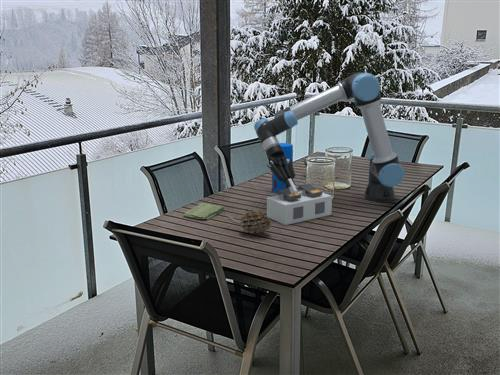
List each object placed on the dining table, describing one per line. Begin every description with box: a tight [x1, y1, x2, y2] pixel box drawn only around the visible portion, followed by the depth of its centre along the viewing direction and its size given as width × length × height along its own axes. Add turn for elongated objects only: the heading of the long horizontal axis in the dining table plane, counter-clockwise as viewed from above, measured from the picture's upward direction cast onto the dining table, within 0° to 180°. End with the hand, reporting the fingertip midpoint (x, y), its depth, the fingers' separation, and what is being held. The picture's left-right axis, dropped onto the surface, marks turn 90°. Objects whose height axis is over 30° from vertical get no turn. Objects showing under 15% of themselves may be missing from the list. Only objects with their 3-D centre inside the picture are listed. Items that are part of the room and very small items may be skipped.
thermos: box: [271, 142, 294, 194], centre depth 268 cm, size 11×11×25 cm
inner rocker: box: [297, 183, 323, 197], centre depth 230 cm, size 10×6×2 cm, turn 32°
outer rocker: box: [276, 188, 301, 200], centre depth 224 cm, size 10×6×2 cm, turn 32°
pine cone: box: [226, 209, 272, 235], centre depth 209 cm, size 22×10×10 cm, turn 62°
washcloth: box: [182, 202, 225, 221], centre depth 234 cm, size 13×18×3 cm
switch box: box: [266, 186, 333, 226], centre depth 229 cm, size 14×26×12 cm, turn 122°
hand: (294, 192), depth 220 cm, fingers closed
